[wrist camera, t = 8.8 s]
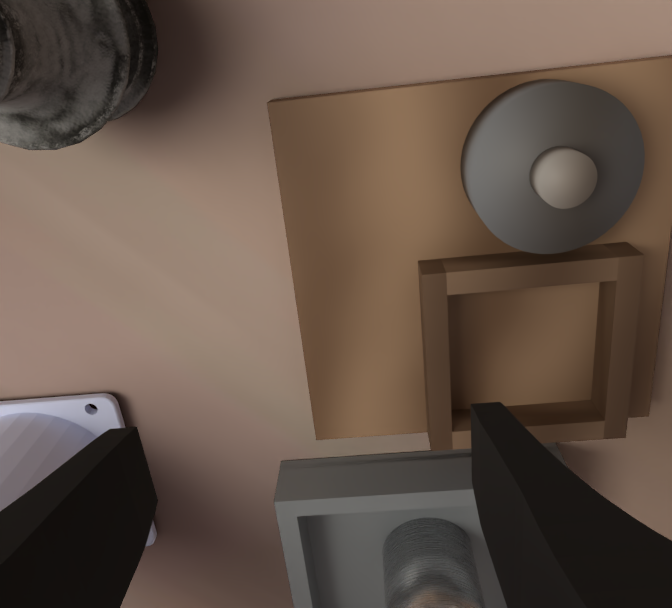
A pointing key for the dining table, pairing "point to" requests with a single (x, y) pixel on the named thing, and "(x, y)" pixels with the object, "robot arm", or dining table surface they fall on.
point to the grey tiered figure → (71, 67)
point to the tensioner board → (480, 249)
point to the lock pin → (430, 566)
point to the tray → (371, 520)
